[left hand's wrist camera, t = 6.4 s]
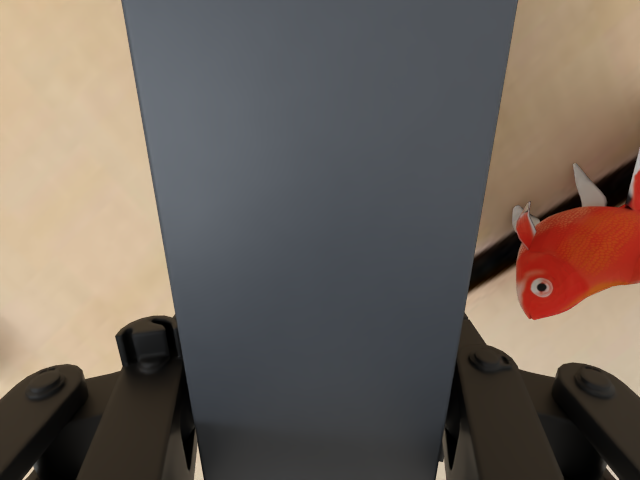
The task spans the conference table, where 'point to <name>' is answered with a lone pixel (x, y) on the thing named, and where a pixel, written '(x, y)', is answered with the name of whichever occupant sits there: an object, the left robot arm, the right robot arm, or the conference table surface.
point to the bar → (319, 218)
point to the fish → (577, 249)
